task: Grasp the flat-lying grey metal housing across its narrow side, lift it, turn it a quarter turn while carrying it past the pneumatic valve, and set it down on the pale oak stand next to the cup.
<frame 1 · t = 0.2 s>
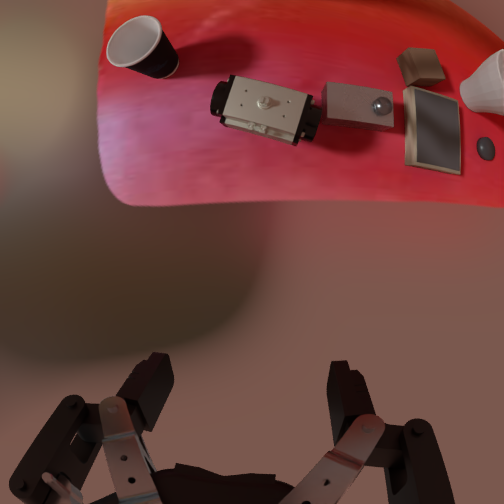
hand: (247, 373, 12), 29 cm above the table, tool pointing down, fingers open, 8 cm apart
walnut block: (413, 72, 30), on the table
pneumatic valve: (268, 125, 35), on the table
stand: (428, 132, 33), on the table
housing: (351, 111, 34), on the table
black cap: (483, 148, 32), on the table
dixie cup: (165, 66, 34), on the table
cup: (471, 96, 29), on the table
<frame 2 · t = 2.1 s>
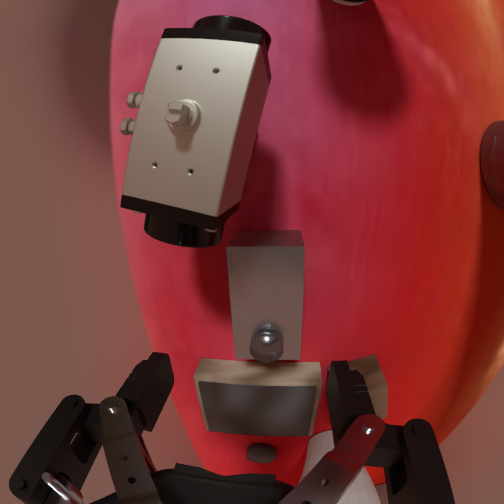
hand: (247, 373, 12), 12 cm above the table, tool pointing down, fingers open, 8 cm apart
walnut block: (353, 377, 26), on the table
pneumatic valve: (227, 141, 21), on the table
stand: (260, 392, 27), on the table
housing: (270, 281, 24), on the table
black cap: (261, 449, 31), on the table
cup: (329, 440, 29), on the table
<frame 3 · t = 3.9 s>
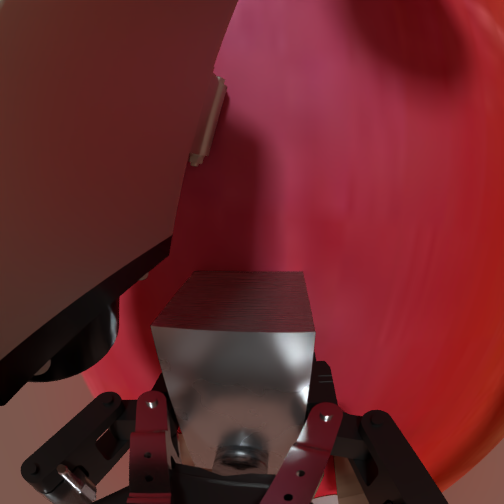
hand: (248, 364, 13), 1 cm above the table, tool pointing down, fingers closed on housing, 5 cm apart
walnut block: (364, 451, 16), on the table
pneumatic valve: (176, 116, 11), on the table
stand: (241, 467, 18), on the table
housing: (250, 351, 14), on the table, touching gripper
cup: (327, 501, 20), on the table
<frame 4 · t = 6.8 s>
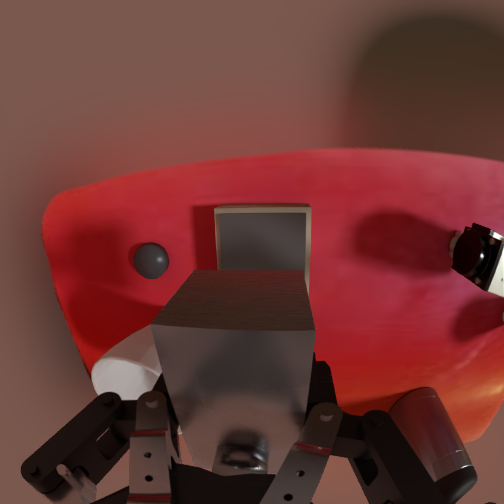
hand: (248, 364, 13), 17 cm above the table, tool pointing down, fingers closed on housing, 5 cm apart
pneumatic valve: (461, 242, 27), on the table
stand: (264, 259, 30), on the table
housing: (250, 350, 14), point 17 cm above the table, touching gripper
black cap: (154, 258, 31), on the table
cup: (182, 327, 34), on the table
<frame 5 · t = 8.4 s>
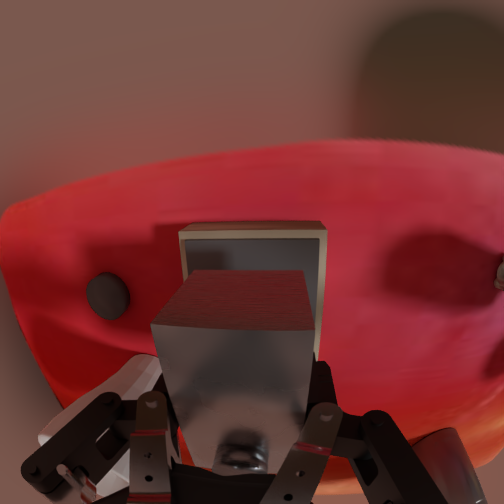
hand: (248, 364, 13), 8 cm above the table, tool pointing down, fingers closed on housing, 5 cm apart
stand: (257, 300, 21), on the table
housing: (250, 350, 14), point 7 cm above the table, touching gripper
black cap: (112, 292, 22), on the table
cup: (155, 375, 25), on the table
when the fingers open (6 cm above the table, at t = 9.8 s): housing drops 1 cm, resting on stand.
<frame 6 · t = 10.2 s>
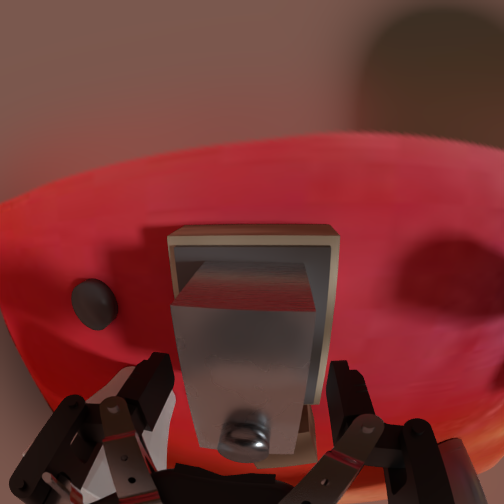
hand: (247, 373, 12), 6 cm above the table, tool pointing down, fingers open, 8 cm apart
walnut block: (282, 408, 21), on the table
stand: (257, 312, 18), on the table
housing: (254, 337, 15), point 3 cm above the table, touching stand
black cap: (99, 300, 20), on the table
cup: (147, 388, 22), on the table
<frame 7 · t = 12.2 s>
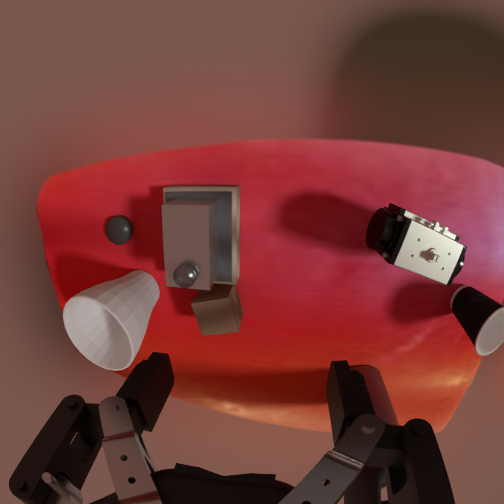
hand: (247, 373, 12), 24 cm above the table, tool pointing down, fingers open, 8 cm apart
walnut block: (222, 299, 39), on the table
pneumatic valve: (393, 225, 33), on the table
stand: (205, 230, 36), on the table
housing: (198, 235, 32), point 3 cm above the table, touching stand
black cap: (122, 228, 37), on the table
dixie cup: (460, 297, 35), on the table
cup: (142, 287, 40), on the table
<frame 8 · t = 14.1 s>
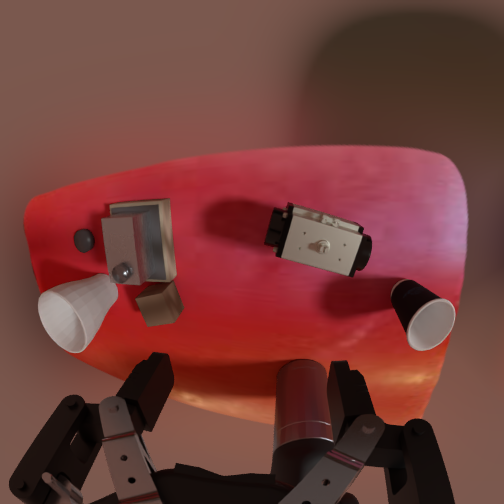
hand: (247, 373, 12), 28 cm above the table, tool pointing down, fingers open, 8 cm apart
walnut block: (166, 296, 44), on the table
pneumatic valve: (311, 223, 38), on the table
stand: (146, 238, 41), on the table
housing: (137, 242, 38), point 3 cm above the table, touching stand
black cap: (86, 239, 43), on the table
dixie cup: (402, 292, 40), on the table
cup: (105, 288, 45), on the table
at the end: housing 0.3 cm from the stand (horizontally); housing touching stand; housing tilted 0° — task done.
